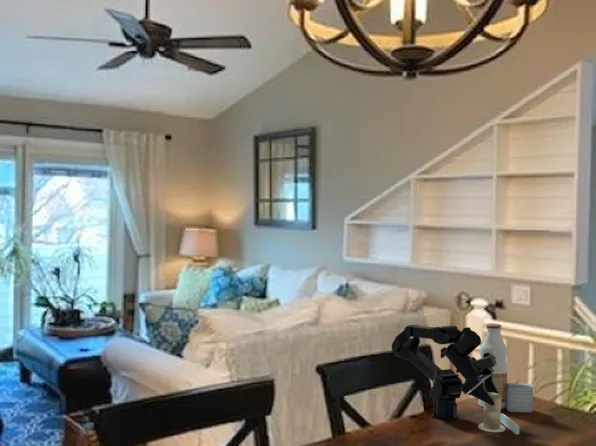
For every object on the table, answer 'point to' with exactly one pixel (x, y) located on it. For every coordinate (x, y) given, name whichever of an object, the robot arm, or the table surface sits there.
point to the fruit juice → (499, 350)
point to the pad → (491, 429)
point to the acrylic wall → (509, 424)
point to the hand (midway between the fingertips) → (496, 401)
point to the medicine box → (519, 397)
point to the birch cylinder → (492, 412)
